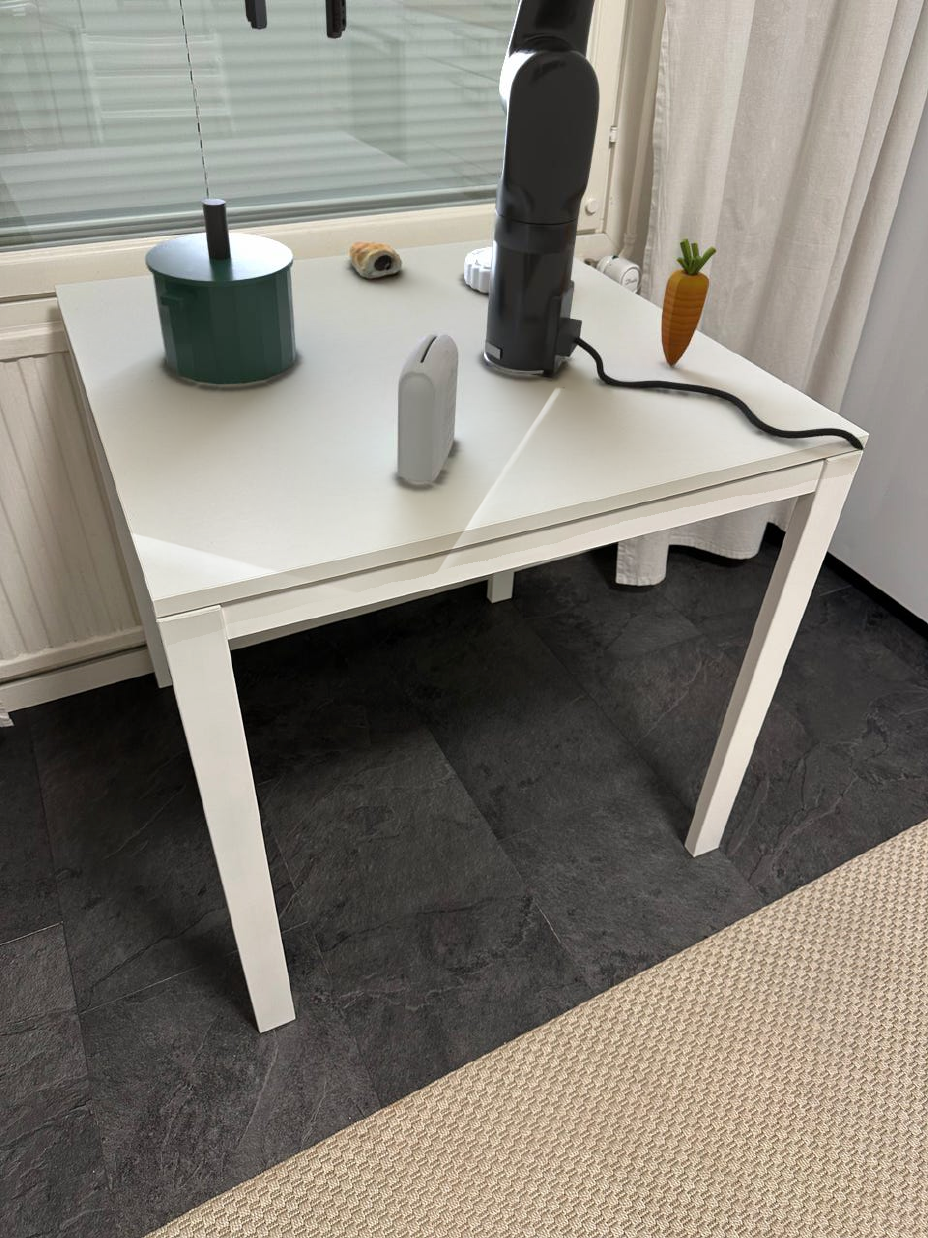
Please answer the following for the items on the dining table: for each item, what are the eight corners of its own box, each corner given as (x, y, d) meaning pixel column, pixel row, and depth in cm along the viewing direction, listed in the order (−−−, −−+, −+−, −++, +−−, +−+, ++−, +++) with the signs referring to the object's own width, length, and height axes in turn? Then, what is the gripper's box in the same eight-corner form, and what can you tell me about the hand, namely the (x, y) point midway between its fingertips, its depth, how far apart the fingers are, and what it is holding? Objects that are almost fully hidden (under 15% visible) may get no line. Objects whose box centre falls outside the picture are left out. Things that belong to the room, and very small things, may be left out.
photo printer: (418, 433, 96) (421, 318, 88) (458, 439, 96) (464, 324, 88) (391, 483, 89) (392, 361, 81) (435, 490, 88) (440, 368, 80)
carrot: (698, 366, 113) (727, 241, 104) (676, 378, 110) (704, 250, 101) (665, 353, 116) (690, 229, 106) (642, 364, 113) (666, 238, 103)
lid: (317, 256, 105) (314, 194, 100) (248, 302, 93) (241, 234, 89) (197, 235, 108) (189, 173, 104) (116, 277, 97) (103, 209, 92)
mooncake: (549, 299, 128) (552, 273, 126) (463, 294, 128) (464, 268, 125) (544, 270, 137) (547, 245, 135) (464, 265, 137) (465, 240, 134)
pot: (326, 340, 113) (322, 244, 106) (244, 409, 98) (232, 303, 91) (222, 320, 117) (211, 225, 109) (127, 382, 102) (106, 278, 94)
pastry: (338, 259, 136) (337, 232, 134) (380, 254, 139) (380, 228, 136) (364, 280, 130) (364, 252, 127) (407, 275, 132) (408, 248, 130)
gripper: (193, -183, 83) (216, 30, 93) (338, -175, 79) (344, 45, 90) (236, -179, 88) (253, 22, 98) (373, -171, 85) (375, 35, 95)
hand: (296, 32), depth 94 cm, fingers open, 8 cm apart
